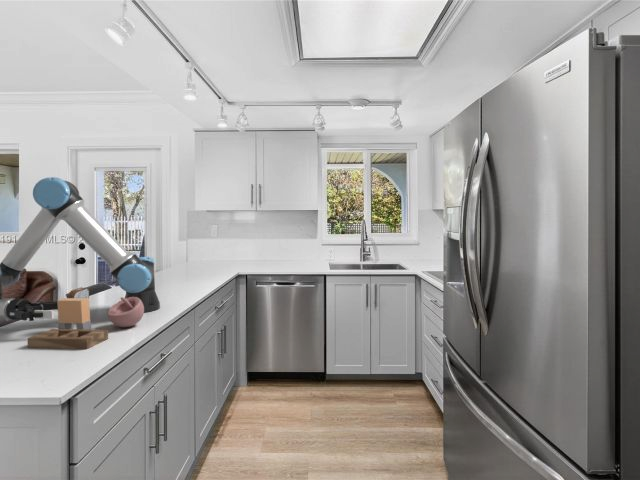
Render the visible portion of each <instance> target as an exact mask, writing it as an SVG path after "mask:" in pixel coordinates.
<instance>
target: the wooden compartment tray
mask: <svg viewBox="0 0 640 480" xmlns="http://www.w3.org/2000/svg"><path fill="white" fill-rule="evenodd" d="M108 339H109V330H108V329H91V330H81V329H77V328H76V329H74V328H73V329H58V328H51V329H49V330H46V331H43V332H41V333H38V334H35V335H32V336H30V337H27V339H26V340H27V348H28V349H31V348H32V349H69V350H70V349H71V350H76V349H77V350H88V349H90V348H93V347H94V346H96V345H98V344H100V343H102V342H105V341H107V340H108Z"/></svg>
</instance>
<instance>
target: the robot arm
mask: <svg viewBox="0 0 640 480" xmlns="http://www.w3.org/2000/svg"><path fill="white" fill-rule="evenodd" d="M32 197H33V199H34V201H35V202H36V204H37V205H38V206H40V207H41V209H40V211H39V212H38V213H37V215H36V216H35V217H34V219H32V221H31V223H30V224H29V225H28V226H27V227H26V228H25V230H24V232H23V233H22V234H21V235H20V237H19V238H18V240H17V241H16V242H15V243H14V245H13V246H12V247H11V249H10V250H9V251H8V252H7V254H6V255H5V257H4V258H3V259H2V260H1V262H0V320H5V321H7V322H9V321H10V320H11V321H13V320H15V321H17V320H18V321H29V322H33V321H34V319H39V320H41V319H43V320H44V319H45V320H51V319H54V318H55V316H54V314H55V313H54V312H55V310H58V304H57V301H58V300H51V301H39V302H31V301H30V300H29V299H27V298H4V297H3V296H4V295H3V289H4V288H6V287H10V286H12V285H15V283H17V282H18V281H19V279H20V278H21V273H22V271H23V270H24V269H25V268H26V266H27V265H28V264H29V262H30V261H31V260H32V258H33V257H34V256H35V254H36V253H37V252H38V251H39V249H40V248H41V246H42V245H43V244H44V243H45V242H46V241H47V239H48V237H49V236H50V235H51V234H52V232H53V231H54V229H56V227H57V225H58V224H59V223H60V221H64V222H66V224H67V225H68V226H69V227H70V228H71V229H72V230H73V231H74V232H75V233H76V234H77V235H78V237H80V238H81V239H82V241H83V242H85V243H86V244H87V245H88V246H89V247H90V249H91V250H92V251H94V252H95V254H97V256H99V257H100V258H101V260H102V261H103V262H104V263H105V264H106V265H107V266H108V267H109V274H111V276H112V277H113V278H114V279H115V280H116V281H117V284H118V287H120V288H121V289H122V290H123V291H124V292H125V296H124V298H125V299H126V298H129V297H138V298H139V299H140V300H141V301H142V303H143V305H144V313H150V312H154V311H157V310H159V309H160V308H161V302H160V300H159V297H158V295H157V293H156V287H155V286H156V282H155V281H156V280H155V279H156V278H155V260H154V258H153V257H152V256H138V255H137V254H136V253H135V252H134V253H133V252H128V250H126V248H125V247H123V245H122V244H121V243H120V242H119V241H118V240H117V239H116V238H115V237H114V236H113V235H112V233H110V231H109V230H107V229H106V228H105V226H104V225H102V223H101V222H100V221H99V220H98V219H97V218H96V217H95V216H94V215H93V214H92V213H91V212H90V211H89V210H88V209H87V208H86V207H85V199H84V198H82V196H81V195H80V191H79V189H78V188H77V186H76V185H75V184H74V183H72V182H70V181H68V180H64V179H62V178H59V177H53V176H51V177H45V178H42V179H40V180H38V181H37V183H35V185H34V186H33V189H32ZM28 319H29V320H28Z"/></svg>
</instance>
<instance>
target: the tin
mask: <svg viewBox="0 0 640 480" xmlns="http://www.w3.org/2000/svg"><path fill="white" fill-rule="evenodd" d="M66 298H89V299H90V290H89V288H87V287H77V288H75V289H72V290H70V291H69V292H68V294H67V297H66Z"/></svg>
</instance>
